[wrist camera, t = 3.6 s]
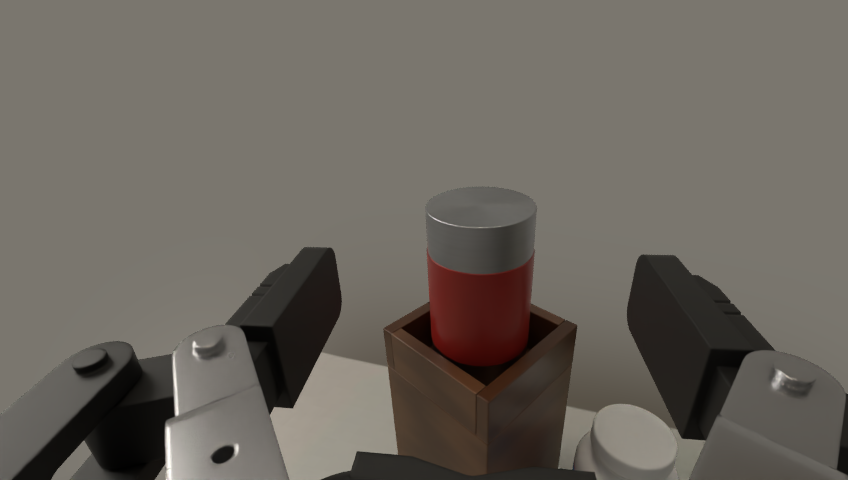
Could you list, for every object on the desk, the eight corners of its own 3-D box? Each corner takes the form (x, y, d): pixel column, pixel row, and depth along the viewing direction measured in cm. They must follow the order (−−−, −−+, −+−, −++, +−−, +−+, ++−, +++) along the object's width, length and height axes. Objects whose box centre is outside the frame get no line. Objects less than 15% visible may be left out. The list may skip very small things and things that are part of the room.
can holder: (554, 499, 33) (578, 324, 25) (484, 588, 28) (488, 403, 21) (472, 435, 39) (472, 275, 31) (402, 498, 34) (382, 328, 26)
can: (544, 363, 27) (560, 202, 22) (484, 417, 23) (487, 239, 19) (474, 323, 31) (474, 179, 26) (414, 364, 27) (401, 207, 23)
